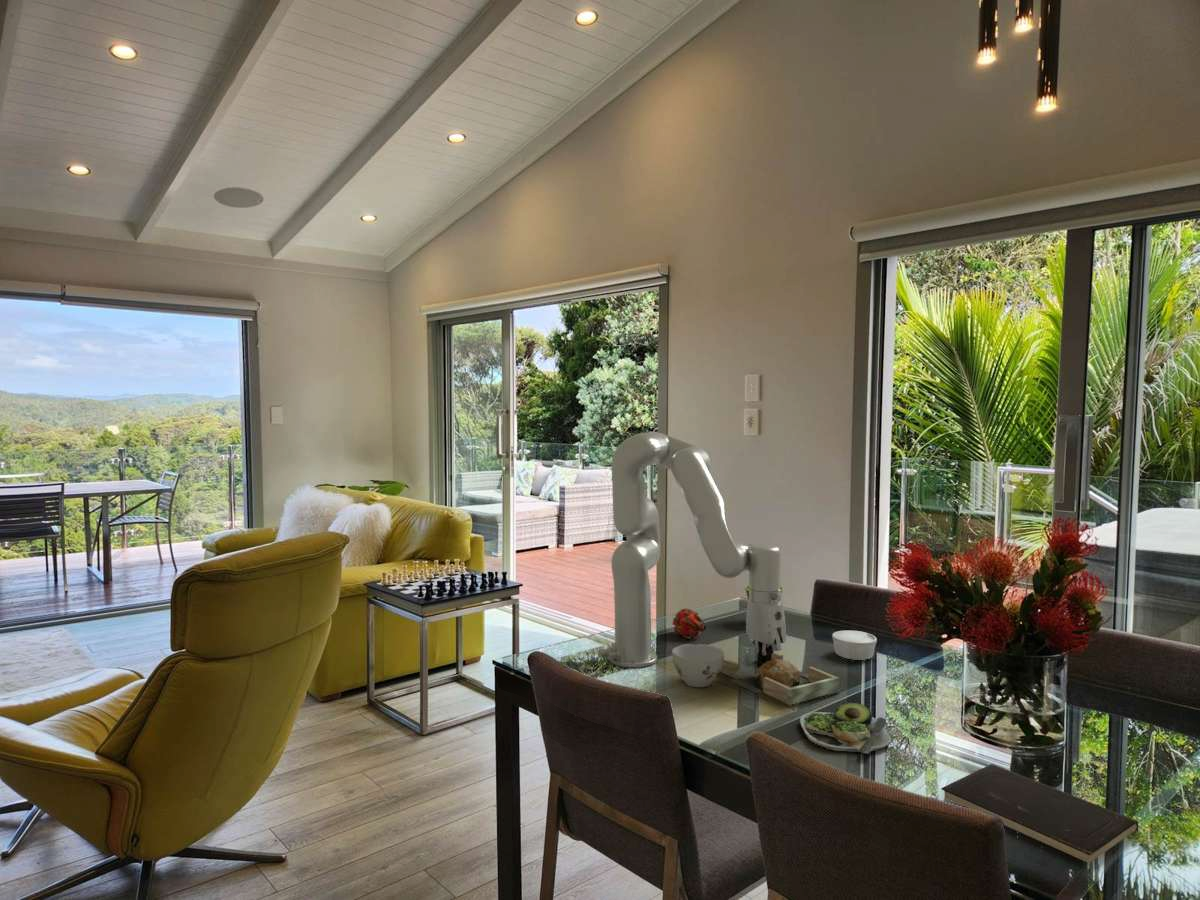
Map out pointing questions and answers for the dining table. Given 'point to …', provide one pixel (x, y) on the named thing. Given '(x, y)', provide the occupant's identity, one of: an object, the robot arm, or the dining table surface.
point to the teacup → (698, 663)
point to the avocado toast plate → (849, 727)
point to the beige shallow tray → (817, 687)
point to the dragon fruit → (688, 623)
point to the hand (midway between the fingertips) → (764, 669)
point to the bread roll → (779, 673)
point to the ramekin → (854, 644)
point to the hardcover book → (1042, 811)
